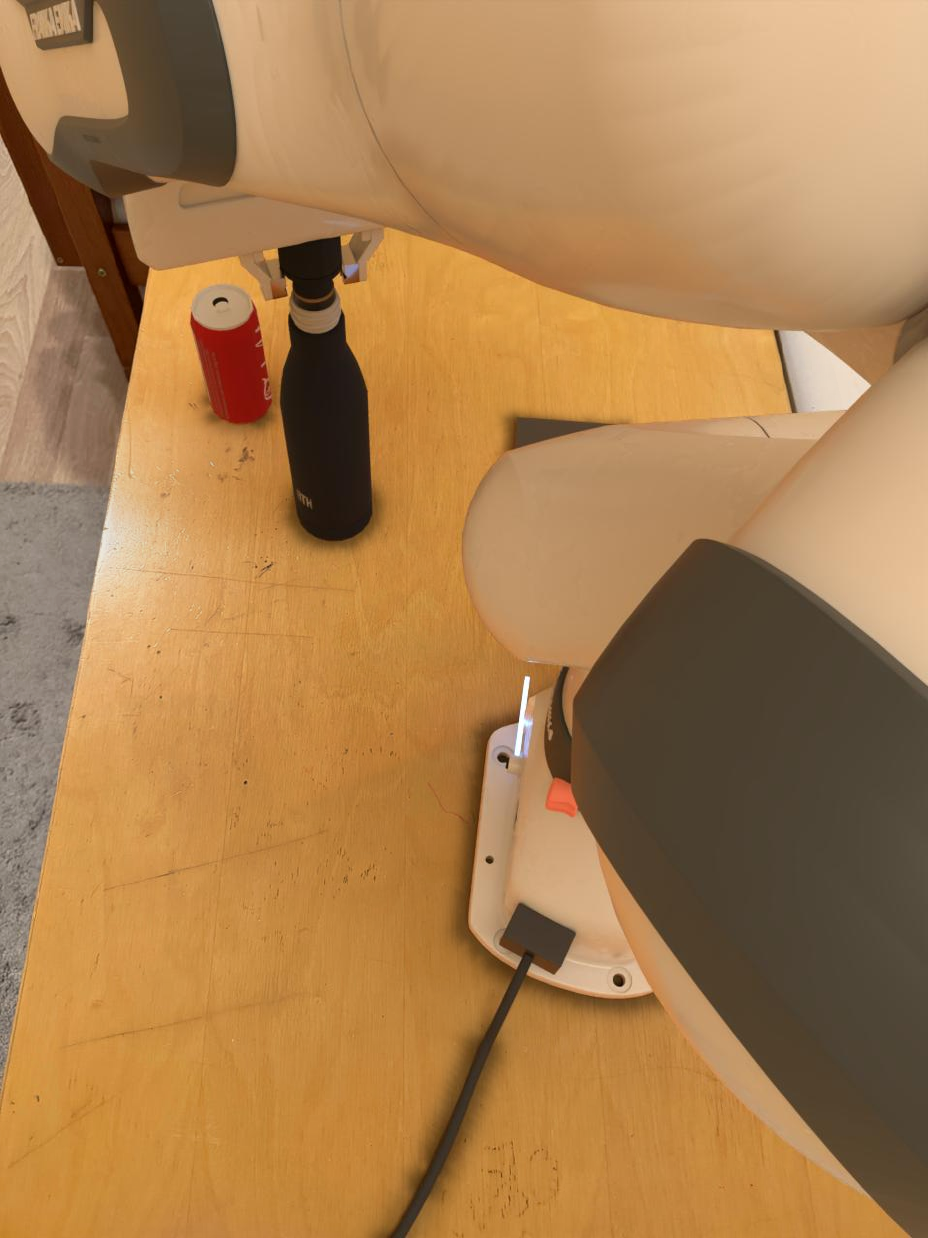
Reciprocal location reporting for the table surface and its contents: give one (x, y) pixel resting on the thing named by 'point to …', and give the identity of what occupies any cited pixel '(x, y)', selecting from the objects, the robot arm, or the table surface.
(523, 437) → the slate coaster
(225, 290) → the soda can
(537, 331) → the table surface
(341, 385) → the black insulated water bottle
